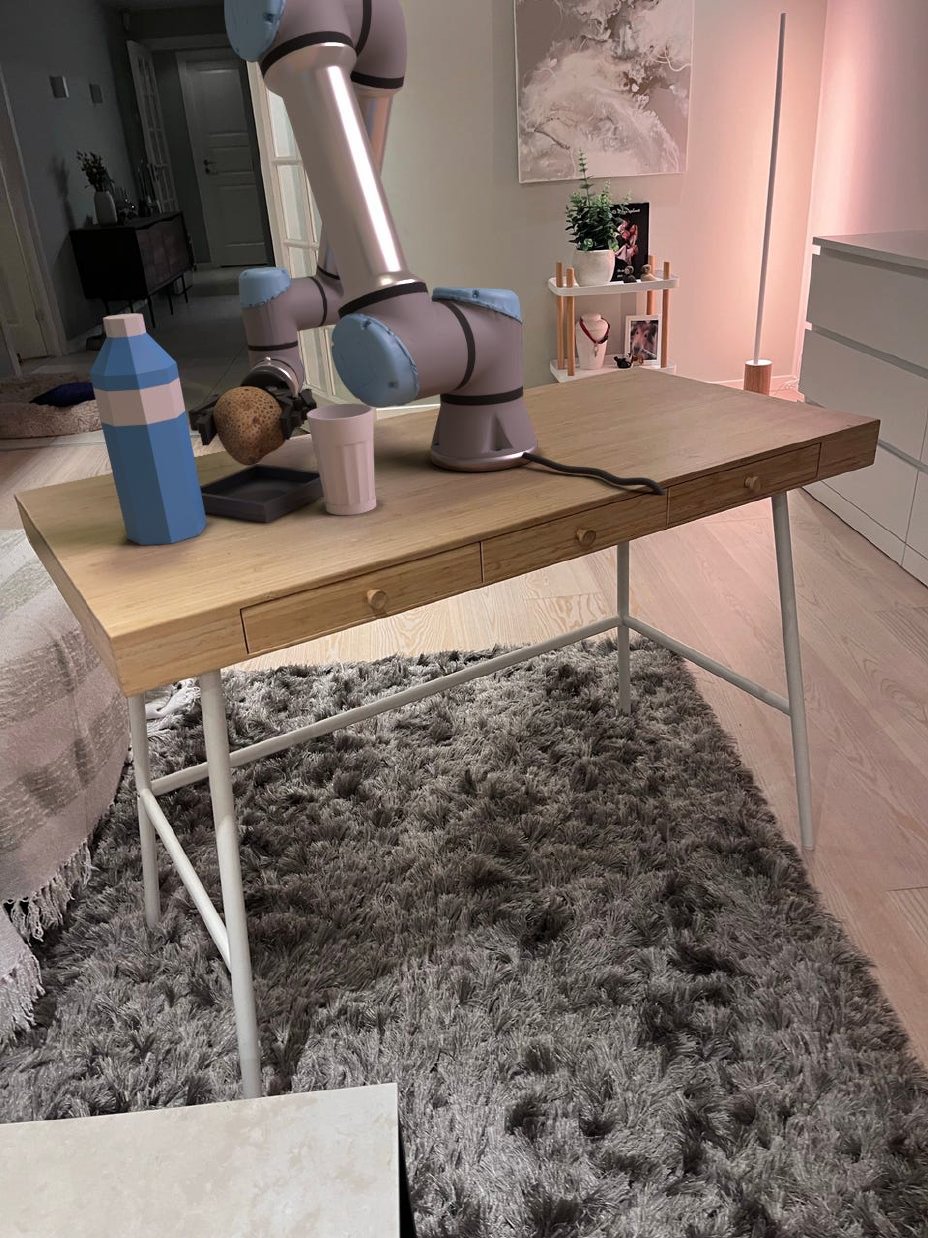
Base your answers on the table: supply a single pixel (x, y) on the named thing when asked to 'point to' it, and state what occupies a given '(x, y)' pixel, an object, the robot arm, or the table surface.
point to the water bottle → (147, 435)
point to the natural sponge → (248, 424)
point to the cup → (345, 456)
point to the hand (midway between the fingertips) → (244, 431)
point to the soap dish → (261, 492)
